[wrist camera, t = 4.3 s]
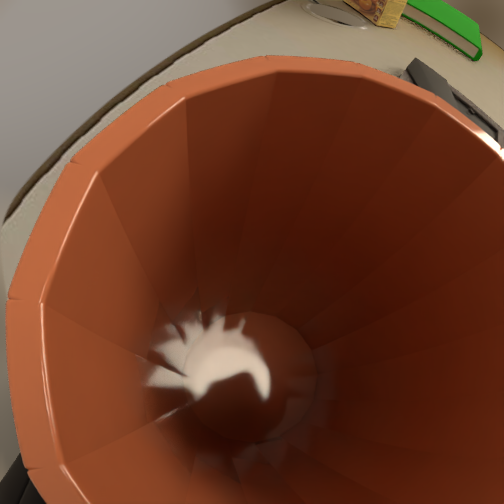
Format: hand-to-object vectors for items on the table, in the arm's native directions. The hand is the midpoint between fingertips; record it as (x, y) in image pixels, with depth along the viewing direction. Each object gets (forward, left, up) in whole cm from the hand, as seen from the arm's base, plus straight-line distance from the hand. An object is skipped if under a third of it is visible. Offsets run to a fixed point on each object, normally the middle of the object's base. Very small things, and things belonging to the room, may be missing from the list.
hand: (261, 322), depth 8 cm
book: (+71, +1, -7) cm, 72 cm away
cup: (-1, -1, -7) cm, 7 cm away
